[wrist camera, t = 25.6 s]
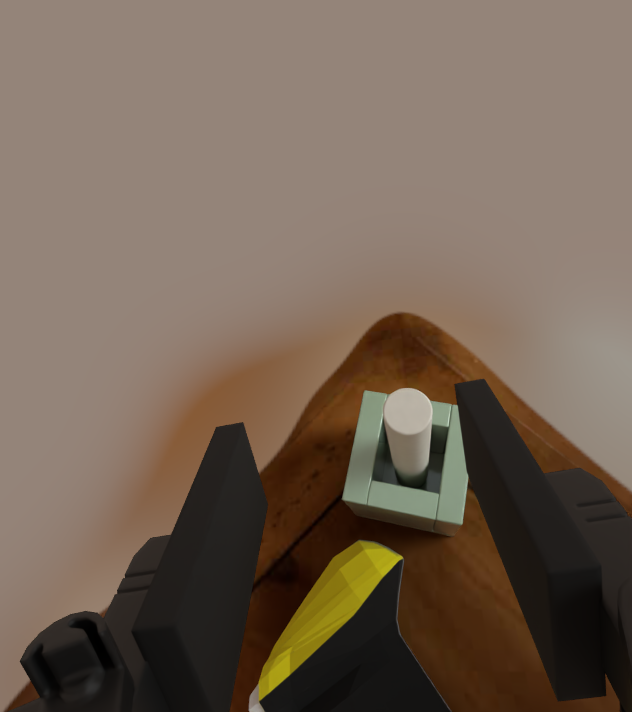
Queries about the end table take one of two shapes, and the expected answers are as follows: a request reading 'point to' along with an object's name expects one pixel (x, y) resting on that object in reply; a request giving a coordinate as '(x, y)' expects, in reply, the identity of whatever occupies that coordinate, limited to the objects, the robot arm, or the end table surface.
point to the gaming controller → (348, 645)
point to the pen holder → (378, 480)
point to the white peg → (409, 434)
